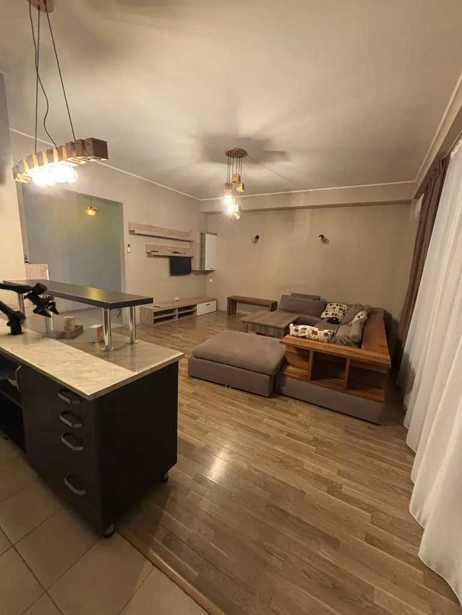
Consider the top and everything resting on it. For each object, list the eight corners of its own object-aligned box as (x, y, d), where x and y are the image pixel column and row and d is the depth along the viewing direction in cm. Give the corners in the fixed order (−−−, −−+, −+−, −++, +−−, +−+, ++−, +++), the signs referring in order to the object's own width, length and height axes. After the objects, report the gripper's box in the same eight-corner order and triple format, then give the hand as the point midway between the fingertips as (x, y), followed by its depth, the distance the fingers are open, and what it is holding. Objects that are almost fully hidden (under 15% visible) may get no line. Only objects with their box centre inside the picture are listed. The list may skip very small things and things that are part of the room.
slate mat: (41, 336, 167) (41, 336, 166) (51, 331, 178) (51, 331, 178) (59, 337, 168) (59, 336, 168) (68, 332, 180) (68, 331, 180)
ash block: (64, 335, 172) (63, 317, 169) (68, 333, 177) (67, 316, 174) (72, 335, 173) (71, 318, 170) (75, 333, 178) (74, 316, 175)
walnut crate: (55, 338, 166) (55, 331, 165) (68, 331, 182) (68, 324, 181) (72, 338, 167) (71, 331, 166) (83, 331, 184) (83, 324, 183)
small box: (97, 343, 163) (96, 327, 161) (88, 342, 163) (88, 327, 161) (103, 339, 171) (103, 324, 169) (95, 338, 171) (95, 324, 169)
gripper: (36, 293, 158) (56, 311, 161) (52, 290, 176) (70, 305, 180) (23, 305, 158) (44, 322, 162) (41, 300, 176) (59, 315, 180)
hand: (55, 315), depth 171 cm, fingers open, 9 cm apart
